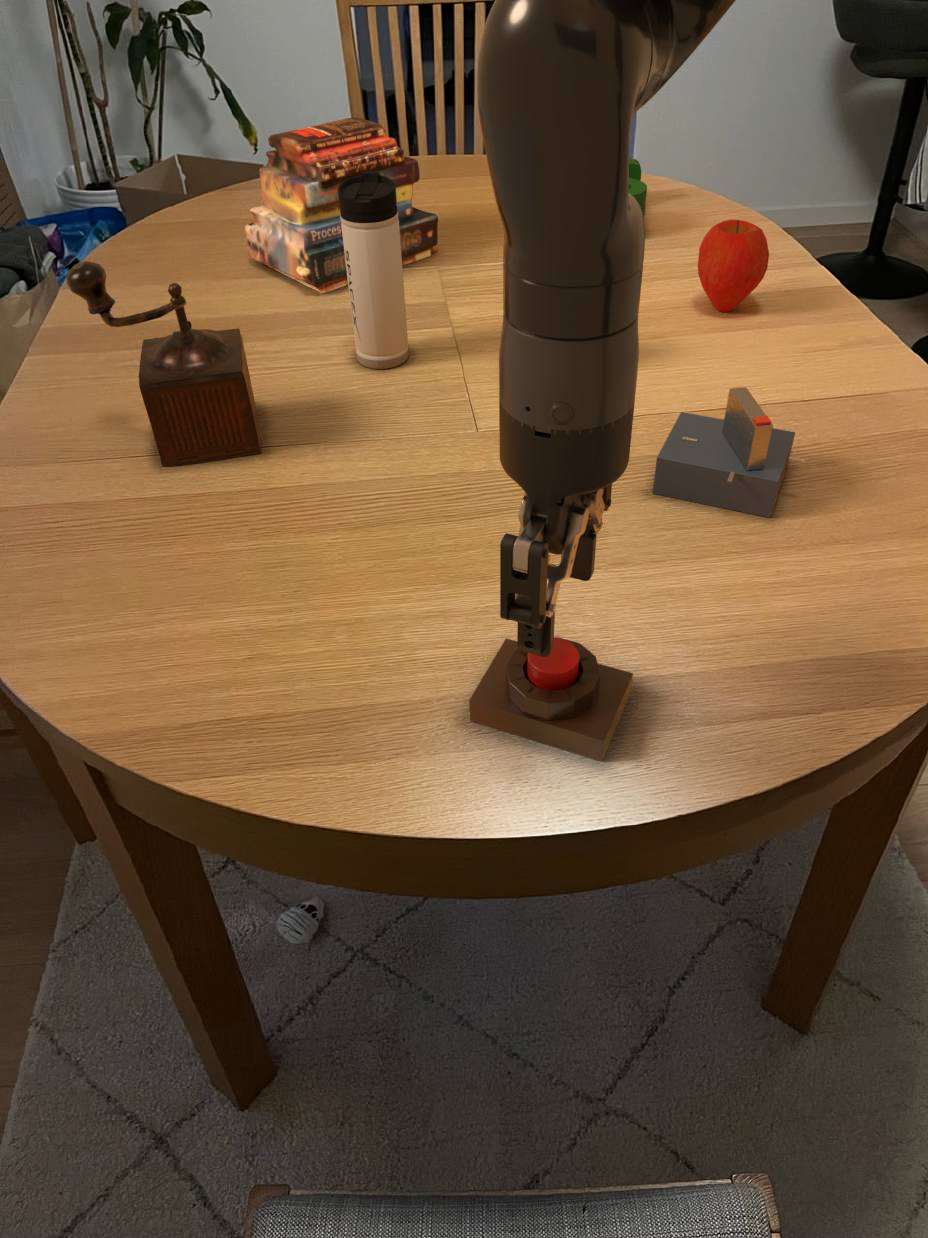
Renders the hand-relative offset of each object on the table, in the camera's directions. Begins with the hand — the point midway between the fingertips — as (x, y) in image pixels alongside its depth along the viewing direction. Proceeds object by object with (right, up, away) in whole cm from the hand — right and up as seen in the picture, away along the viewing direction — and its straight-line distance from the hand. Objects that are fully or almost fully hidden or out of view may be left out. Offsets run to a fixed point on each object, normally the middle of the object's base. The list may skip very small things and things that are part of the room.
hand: (556, 611), depth 62 cm
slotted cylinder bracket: (+17, +61, +81) cm, 103 cm away
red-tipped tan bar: (+20, +15, +24) cm, 34 cm away
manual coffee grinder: (-36, +19, +37) cm, 54 cm away
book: (-24, +52, +73) cm, 93 cm away
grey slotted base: (+19, +13, +27) cm, 35 cm away
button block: (0, -7, +6) cm, 9 cm away
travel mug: (-16, +31, +49) cm, 60 cm away
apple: (+27, +39, +56) cm, 73 cm away
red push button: (0, -4, +4) cm, 6 cm away
